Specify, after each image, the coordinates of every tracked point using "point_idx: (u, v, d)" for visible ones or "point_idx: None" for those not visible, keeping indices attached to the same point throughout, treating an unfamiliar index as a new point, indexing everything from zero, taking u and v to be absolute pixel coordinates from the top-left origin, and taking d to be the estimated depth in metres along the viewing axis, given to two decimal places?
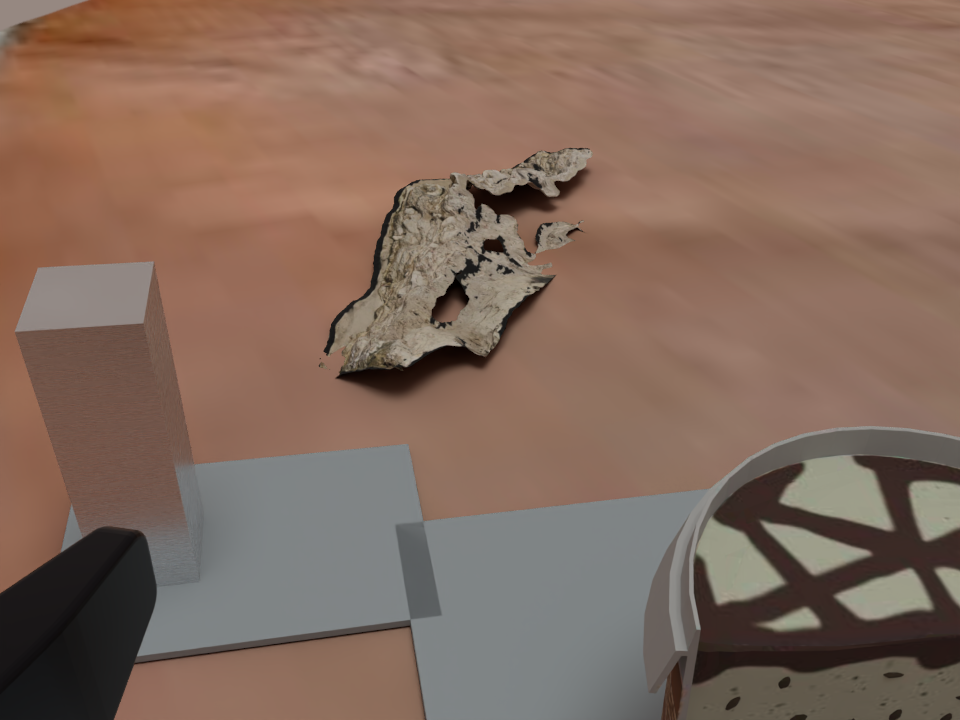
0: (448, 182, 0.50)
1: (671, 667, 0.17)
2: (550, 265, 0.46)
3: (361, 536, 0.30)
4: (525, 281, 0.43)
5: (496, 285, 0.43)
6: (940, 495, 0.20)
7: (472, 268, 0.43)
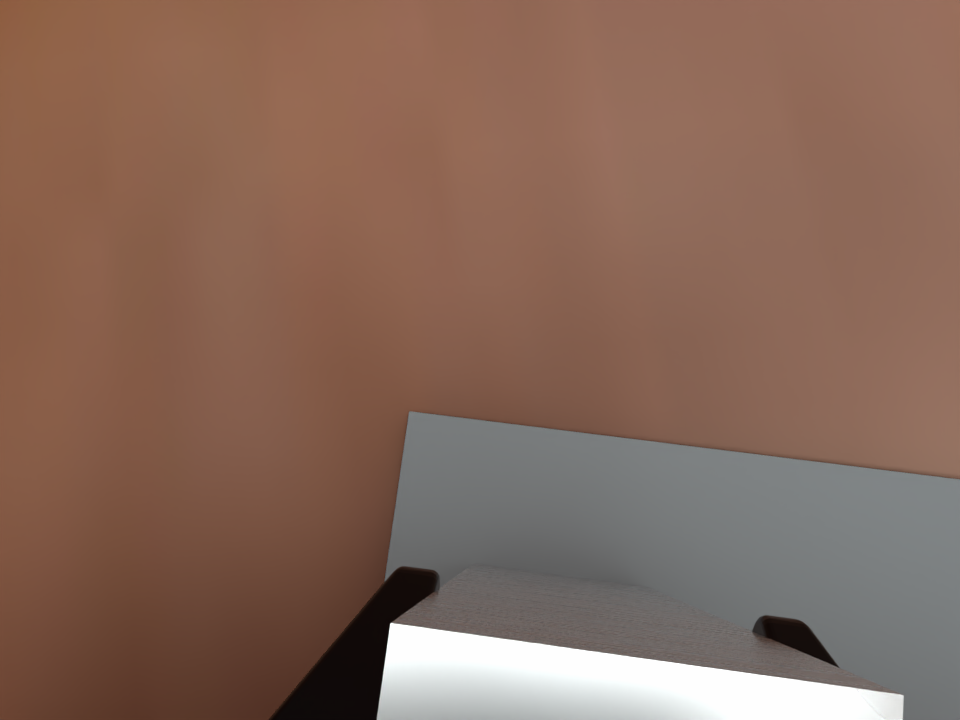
0: None
1: None
2: None
3: None
4: None
5: None
6: None
7: None
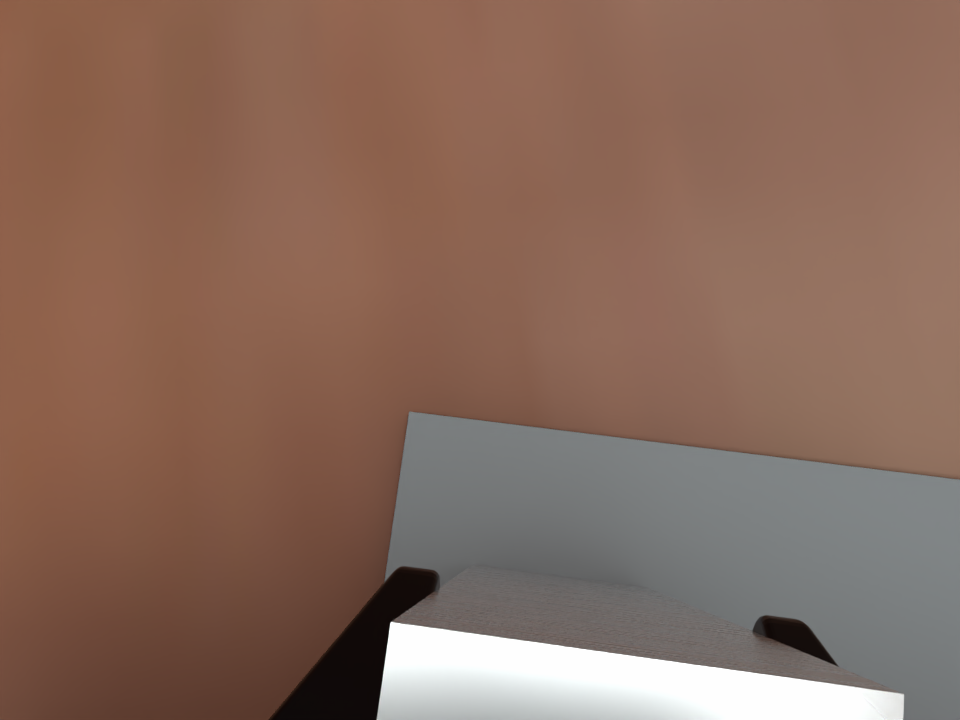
0: None
1: None
2: None
3: None
4: None
5: None
6: None
7: None
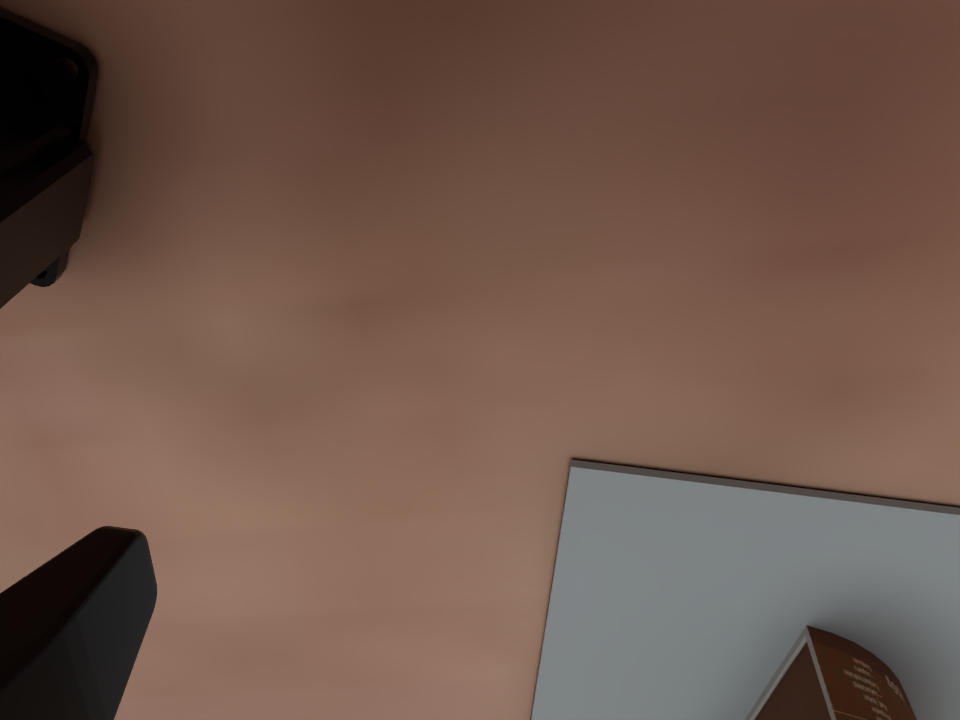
0: None
1: None
2: None
3: None
4: None
5: None
6: None
7: None
